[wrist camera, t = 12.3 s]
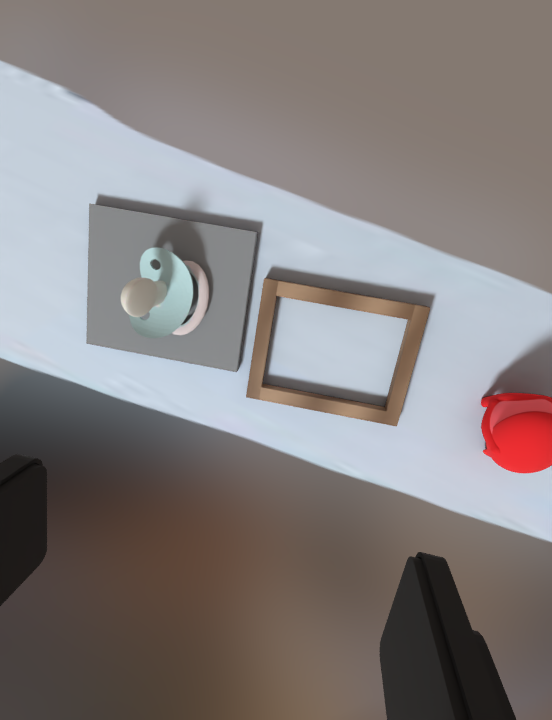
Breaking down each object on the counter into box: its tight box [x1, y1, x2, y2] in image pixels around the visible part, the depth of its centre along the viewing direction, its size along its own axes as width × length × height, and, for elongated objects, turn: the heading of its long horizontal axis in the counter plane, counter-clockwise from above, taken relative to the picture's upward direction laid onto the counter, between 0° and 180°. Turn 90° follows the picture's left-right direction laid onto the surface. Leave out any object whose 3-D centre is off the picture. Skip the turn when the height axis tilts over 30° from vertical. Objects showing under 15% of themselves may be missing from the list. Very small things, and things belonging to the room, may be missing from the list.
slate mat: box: [87, 204, 258, 372], centre depth 33 cm, size 14×12×1 cm
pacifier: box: [121, 248, 209, 338], centre depth 30 cm, size 7×6×6 cm
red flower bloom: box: [481, 393, 552, 473], centre depth 31 cm, size 8×6×6 cm
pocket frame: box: [246, 278, 430, 426], centre depth 33 cm, size 14×11×1 cm
